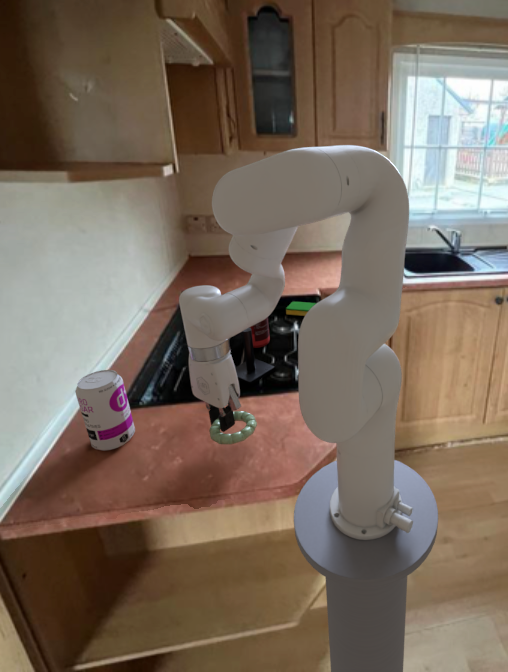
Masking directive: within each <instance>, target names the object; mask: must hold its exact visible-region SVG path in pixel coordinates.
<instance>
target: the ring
mask: <svg viewBox="0 0 508 672" xmlns="http://www.w3.org/2000/svg"><path fill="white" fill-rule="evenodd" d="M233 414H234V420H235V422H243V423H245V424H246V425H245V426H244V427H243V428H242V429H240V430H239V431H236V432H232V433H224V432H222V431H221V428H220V422H219V418H218V419H216V420H215V421H214V422H213V424H212V426H211V425H210V427H209V429H208V432H209V437H210V439H211V440H212V441H213V442H215V443H217V444H218V445H225V446H226V445H228V446H229V445H231V446H232V445H235V444H238V443H241V442H244V441H246V440H247V439H248V438H249V437H251V436H252V435H253V434H254V432H255V430H256V428H257V426H258V422H257V420H256V417H255V415H254V414H252V413H249V412H247V411H244V410H235V411H233Z"/></svg>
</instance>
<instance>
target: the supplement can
mask: <svg viewBox="0 0 508 672" xmlns="http://www.w3.org/2000/svg"><path fill="white" fill-rule="evenodd" d="M75 396H76V399H77V403H78V407H79V410H80V413H81V415H82V419H83V422H84V426H85V429H86V433H87V436H88V439H89V442H90V445H91V447H92V448H93V449H95V450H99V451H111V450H115V449H117V448H120V447H122V446H124V445H125V444H127V443H128V442H129V441H131V439H132V437H133V436H134V435H135V432H136V426H135V423H134V419H133V416H132V411H131V406H130V403H129V400H128V395H127V390H126V388H125V383H124V380H123V377H122V375H120V374H118V372H117V371H116V370H114V369H101V370H97V371H93V372H91V373H89V374H86V375H84V376H83V377H81V378H80V379H78V381H77V383H76V388H75Z"/></svg>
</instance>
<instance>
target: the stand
mask: <svg viewBox="0 0 508 672" xmlns="http://www.w3.org/2000/svg"><path fill="white" fill-rule="evenodd" d="M241 335H242V342H243V343H242V344H243V353H244V357H245V358H244V359H245V361H244V362H242V363H240V364H238V365H237V366H235V369H236V373H237V377H238V382H241V383H243V384H245V385H247V386H250V387H252V386H253V385H254V384H256V383H258V382H259V381H261V380H263V379H264V378H265V377H267V376H268V375H271V374H272V373H273V372H276V366H274V365H272V364H269V363H268V362H264V361H262V360H259V359H257V358H256V357H255V350H254V349H255V348H253V339H252V331H251V328H247V329H245V330H244V331H242V332H241Z"/></svg>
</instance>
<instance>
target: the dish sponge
mask: <svg viewBox="0 0 508 672" xmlns="http://www.w3.org/2000/svg"><path fill="white" fill-rule="evenodd" d="M317 303H318V302H305V301H291V302H290V304H289V305H287V307H285V314H286V315H290V316H300V317H301V316H303V317H305V315H306V314H307V312H308V311H309V310H310V309H311V308H312V307H313V306H314V305H315V304H317Z"/></svg>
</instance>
